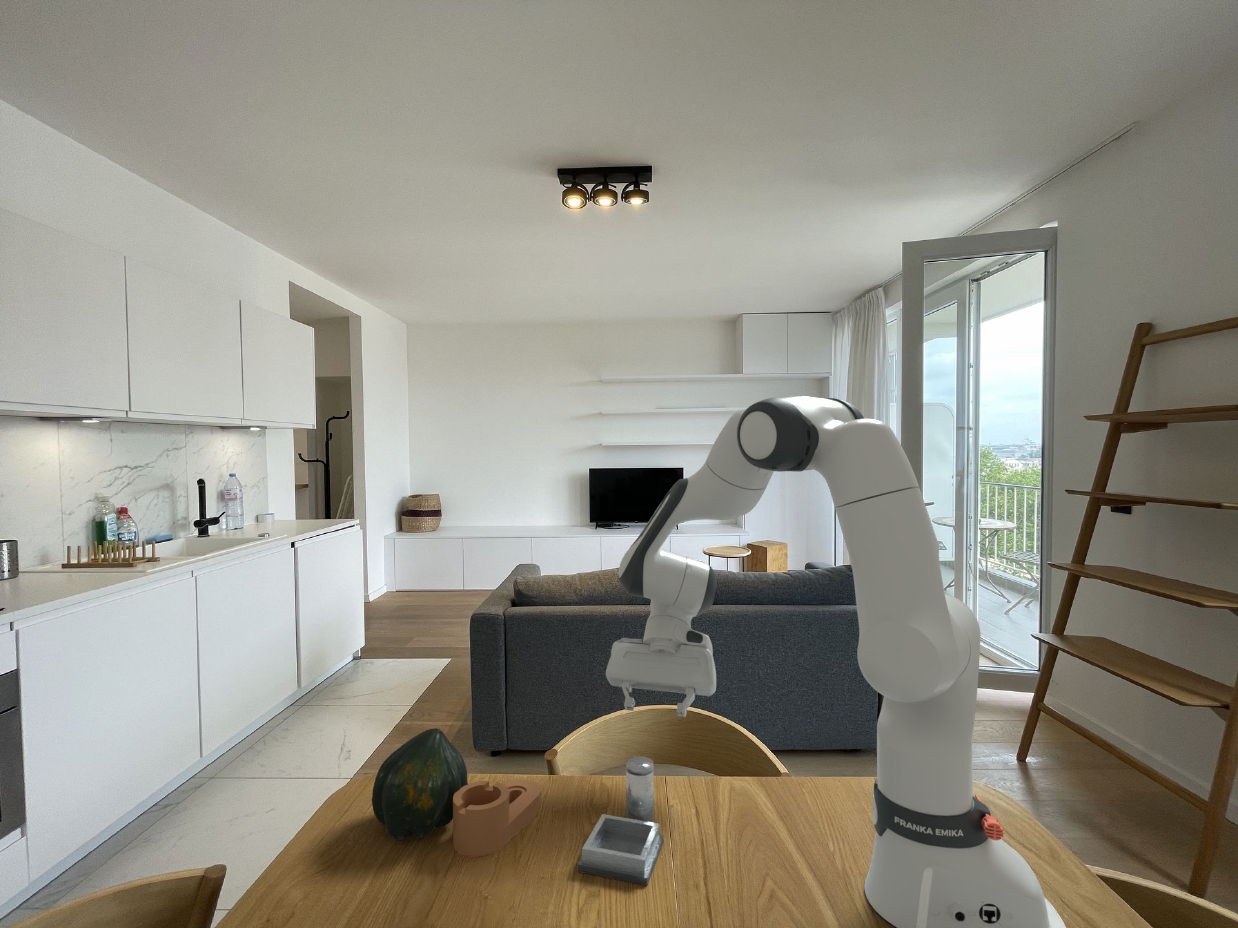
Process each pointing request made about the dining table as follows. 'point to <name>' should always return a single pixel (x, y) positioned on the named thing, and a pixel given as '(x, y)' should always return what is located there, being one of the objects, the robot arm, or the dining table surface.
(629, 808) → the upright metal cylinder
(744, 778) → the dining table surface
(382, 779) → the squash
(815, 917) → the dining table surface
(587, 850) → the square open tray
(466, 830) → the bracket
